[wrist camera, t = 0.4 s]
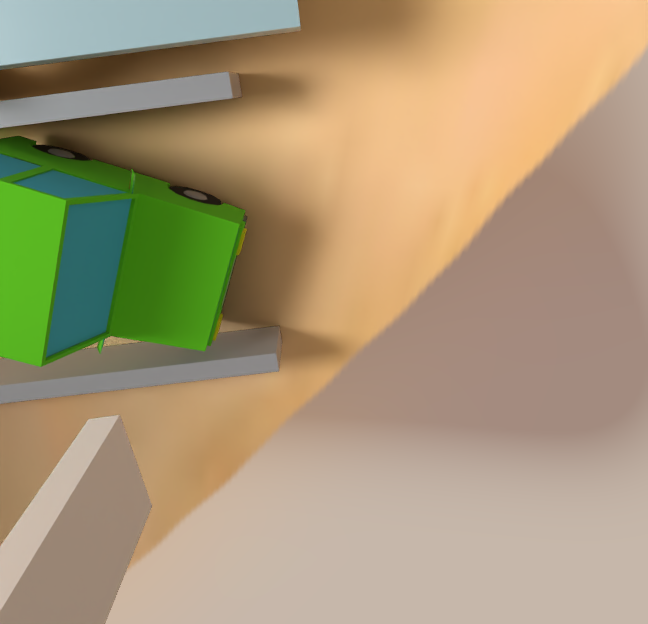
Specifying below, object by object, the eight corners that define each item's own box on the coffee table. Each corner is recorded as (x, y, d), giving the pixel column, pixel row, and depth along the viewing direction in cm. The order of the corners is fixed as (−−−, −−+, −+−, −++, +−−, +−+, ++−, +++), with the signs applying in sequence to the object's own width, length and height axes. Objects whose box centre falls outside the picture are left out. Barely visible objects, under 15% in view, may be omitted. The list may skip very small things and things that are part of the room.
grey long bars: (-74, 384, 37) (-116, 417, 33) (-188, 128, 31) (-256, 134, 27) (282, 342, 36) (279, 371, 33) (238, 73, 30) (228, 71, 26)
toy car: (218, 337, 36) (187, 423, 27) (11, 280, 34) (-99, 351, 25) (260, 188, 33) (240, 228, 23) (30, 115, 31) (-89, 127, 22)
